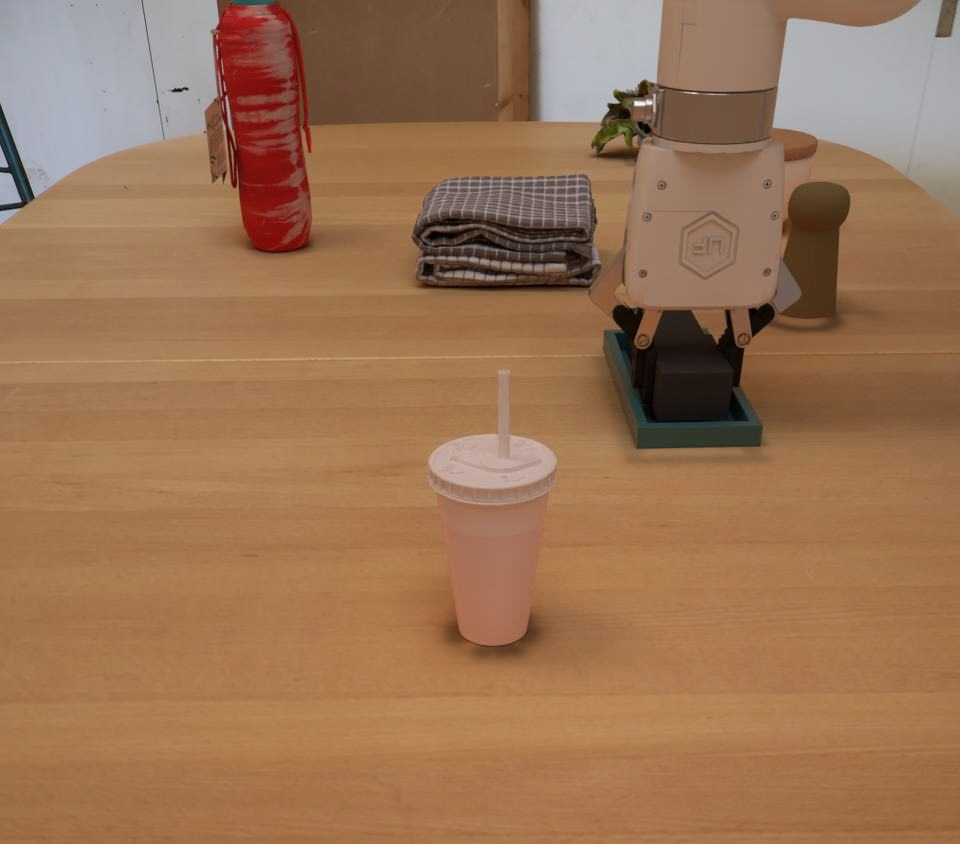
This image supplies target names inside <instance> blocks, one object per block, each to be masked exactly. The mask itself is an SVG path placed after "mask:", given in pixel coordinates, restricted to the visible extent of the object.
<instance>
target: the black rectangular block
mask: <svg viewBox="0 0 960 844" xmlns="http://www.w3.org/2000/svg"><path fill="white" fill-rule="evenodd" d="M654 338H655V341H654V343H655V346H656V348H657V350H658V359H657V360H656V365H655V376H654V387H653V398H652V402H651V406H652V409H653V412H654V414H655V417H656V419H657V421H709V420H727V419H728V412H729V404H730V397H731V389H732V382H733V374H734V372H733V370H732V368H731V367H730V365H729V363H728V361H727V360H726V359H725V357H724V355H723V353H722V352H721V350H720V348H719V347H718V341H716V339H715V338H714V336H713V334H712V333H710V334H674V335H654Z"/></svg>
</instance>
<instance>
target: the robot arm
mask: <svg viewBox="0 0 960 844" xmlns="http://www.w3.org/2000/svg"><path fill="white" fill-rule="evenodd" d="M920 2H922V0H662V7H661V21H660V35H659V46H658V56H657V68H656V69H657V70H656V82H653V83H654V90H653V91H651V92H650V95H645V96H644V98H633V99H632V105H631V120H632V121H643V124H648V125H649V127H650V128H651V130H652V131H653V132H652V137H647V138H645V139H643V140H642V143H641V147H640V150H639V149H638V152H639V154H638V153H637V156H638V158H637V157H636V158H637V162H636V163H635V167H634V171H633V176H632V180H631V181H632V182H631V186H630V191H629V192H630V193H629V198H628V206H627V211H626V219H625V226H624V233H623V241H622V247H621V248H620V250H618V252H617V253H616V254H615V256H614V257H613V258H612V259H611V260H610V262H609V263H608V264H607V265H606V267H605V268H604V269H603V270H602V272H600V273H599V275H598V277H597V279H596V280H595V281H594V283H593V284H592V285H589V288H588V289H587V294H588V297H589V300H590V302H591V303H592V304H593V305H594V306H596V307H597V308H598V310H600V311H601V312H602V313H604V314H605V315H606V316H608V317H609V318H610V319H612V321H614V323H615V324H616V325H617V326H618V327H619V329H620V330H623V331H624V332H625V333H626V335H627V336H628V337H629V338H630V339H631V340H632V341H633V342H634V345H633V357H632V370H631V386H632V388H633V389H636V388H638V392H639V395H640V397H641V400H642V403H643V404H651V402H652V398H653V387H654V376H655V365H656V360H657V359H658V350H657V348H656V346H655V343H654V341H655V338H654V334H655V331H656V329H657V326H658V323H659V321H660V318H661V315H662V313H663V310H691V311H718V310H719V311H721V310H723V311H724V312H723V313H724V317H725V318H724V319H725V323H726V324H725V325H726V328H725V329H724V331H723V333H721V334H720V337H718V339H717V344H718V347H719V348H720V350H721V352H722V353H723V355H724V357H725V359H726V360H727V361H728V363H729V365H730V367H731V368H732V370H733V372H734V374H733V382H732V387H739V385H740V384H741V377H742V370H743V364H744V363H743V362H744V357H745V348H748V347H749V346H750V345H751V344H752V341H753V338H754V337H755V336H756V335H758V334H759V333H760V332H762V330H763V329H764V328H766V327H767V326H768V325H769V324H770V323H771V322H772V321H773V320H774V319H775V317H776V316H777V315H780V313H781V312H782V311H784V310H785V309H787V308H788V307H789V306H791V305H792V304H793V303H795V302H796V301H797V300H799V299H800V297H801V294H802V292H801V289H800V288H799V286H798V284H797V283H796V281H795V279H794V278H793V276H792V274H791V273H790V271H789V269H788V268H787V266H786V265H785V263H784V261H783V260H782V259H783V257H782V256H781V251H782V236H783V224H784V222H783V210H784V185H785V163H784V146H783V144H782V143H780V142H778V141H777V140H775V139H772V138H771V137H772V129H773V128H774V123H775V116H776V115H775V113H776V108H777V107H776V106H777V99H778V91H779V83H780V76H781V68H782V62H783V61H782V60H783V56H784V55H783V54H784V47H785V41H786V33H787V27H788V20H790V19H797V20H807V21H814V22H815V21H816V22H822V23H828V24H834V25H840V26H846V27H852V28H853V27H854V28H855V27H856V28H864V27H865V28H866V27H867V28H869V27H875V26H879V25H883V24H886V23H889V22H891V21H894V20H896V19H898V18H901V17H902V16H903V15H905V14H906V13H908V12H910V11H911V10H912V9H914V8H915V7H916V6H917V5H918V4H919V3H920ZM621 284H622V285H623V286H624V291H625V295H626V297H627V298H628V300H629V302H630V303H632V304H633V305H634V306H636V307H635V308H636V310H635V313H634V312H633V311H632V309H631V308H632V307H630V306H629V305H628V304H627V303H626V302H625V301H623V300H622V299H620V298H619V296H617V295H616V292H617V291H616V290H617V289H618V288H619V287H620V286H621ZM778 313H779V314H778ZM731 394H732V389H731ZM730 401H731V397H730Z"/></svg>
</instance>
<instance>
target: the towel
mask: <svg viewBox="0 0 960 844" xmlns="http://www.w3.org/2000/svg"><path fill="white" fill-rule="evenodd" d="M598 221H599V220H598V217H597V207H596V206H595V199H594V198H593V195H592V183H591V180H590V178H589V177H588V175H587V174H584V173H575V174H570V175H569V174H565V175H546V176H545V175H539V176H521V175H520V176H489V175H488V176H487V175H485V176H454V177H451V178H449V177H448V178H445V179H444V180H443V181H441V182H439V183H438V184H436V185H435V186H433V187H432V189H430V191H429V192H428V193H427V194H426V196H425V197H424V198H423V201H422V208H421V210H420V211H419V213H418V216H417V218H416V221H415V223H414V226H413V230H412V234H411V235H410V237H411V240H412V242H413V243H414V244H415V246H416V247H417V248H418V253H417V257H416V263H415V269H414V273H413V274H414V276H415V280H416V281H419V282H421V283H426V284H429V285H432V286H434V285H436V286H443V287H446V286H448V287H452V286H459V287H464V286H467V287H477V286H483V287H484V286H512V285H514V286H523V285H524V286H529V285H533V286H534V285H544V284H546V285H563V286H564V285H565V286H566V285H576V286H577V285H578V286H591V285H592V284H593V283H594V281H595V280H596V279H597V278H598V277H599V275H600V274H601V271H602V268H603V266H602V265H603V264H602V261H601V257H600V254H599V251H598V249H597V246H596V244H595V242H594V235H595V231H596V229H597V225H598Z"/></svg>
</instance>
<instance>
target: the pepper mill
mask: <svg viewBox="0 0 960 844" xmlns="http://www.w3.org/2000/svg"><path fill="white" fill-rule="evenodd" d="M850 209H851V195H850V192H849V190H848V189H847V188H846V187H845V186H843V185H841V184H839V183H835V182H829V181H811V182H810V181H809V183H804V184H801V185H799V186H798V187H796V188H795V189H794V191H793V192H792V194H791V197H790V199H789V202H788V217H789V218H788V219H789V222H790V223H791V226H790V230H789V234H788V238H787V241H786V244H785V249H784V252H783V256H782V260H783V261H784V263H785V265H786V266H787V268H788V269H789V271H790V273H791V274H792V276H793V278H794V279H795V281H796V283H797V284H798V286H799V288H800V289H801V292H802V294H801V297H800V299H799V300H797V301H796V302H795V303H793V304H792V305H791V306H789V307H788V308H787V309H785V310H784V311H782V312H781V313H780V314H779V313H778V314H777V315H780V316H784V317H787V318H793V319H804V320H813V319H815V320H816V319H822V318H823V319H825V318H828V317H831V316H833V315H835V314H836V312H837V311H836V310H837V295H838V294H837V290H838V272H839V271H838V269H839V249H840V228H841V226H842V225H843V224H844V223H845V221H846V220H847V217H848V216H849V213H850Z"/></svg>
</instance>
